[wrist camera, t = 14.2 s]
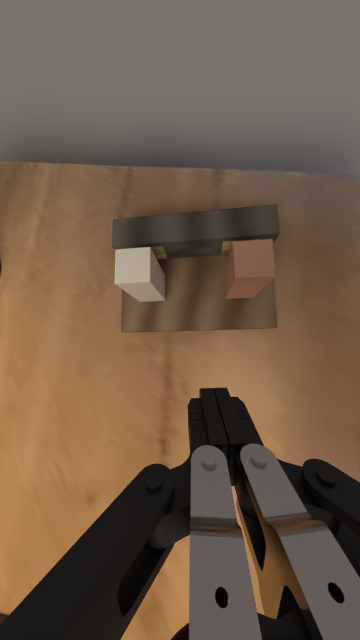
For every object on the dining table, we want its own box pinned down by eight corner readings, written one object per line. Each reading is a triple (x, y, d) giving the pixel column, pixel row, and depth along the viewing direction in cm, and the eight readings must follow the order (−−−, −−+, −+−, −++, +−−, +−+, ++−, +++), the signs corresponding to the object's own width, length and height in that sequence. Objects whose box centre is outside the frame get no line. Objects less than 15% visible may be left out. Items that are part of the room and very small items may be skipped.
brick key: (225, 298, 30) (235, 278, 21) (224, 272, 30) (233, 241, 21) (253, 297, 29) (275, 275, 20) (251, 271, 30) (272, 238, 21)
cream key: (139, 301, 31) (114, 283, 22) (140, 276, 31) (115, 249, 23) (165, 300, 31) (150, 281, 22) (165, 275, 31) (150, 246, 22)
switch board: (123, 332, 32) (105, 329, 26) (125, 238, 34) (109, 215, 28) (274, 328, 29) (292, 323, 24) (266, 227, 32) (280, 199, 26)
